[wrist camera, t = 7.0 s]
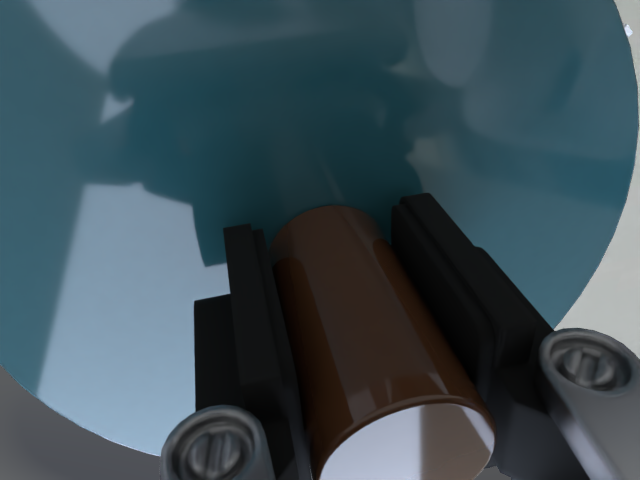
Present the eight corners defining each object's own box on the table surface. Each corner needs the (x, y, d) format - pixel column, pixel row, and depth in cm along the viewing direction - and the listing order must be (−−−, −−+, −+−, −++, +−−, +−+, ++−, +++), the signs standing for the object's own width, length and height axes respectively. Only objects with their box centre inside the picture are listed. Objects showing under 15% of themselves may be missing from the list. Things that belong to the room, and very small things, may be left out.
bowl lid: (687, -193, 9) (1346, -319, 4) (544, 373, 17) (697, 573, 12) (-245, -127, 7) (-1395, -205, 2) (93, 478, 15) (45, 771, 10)
